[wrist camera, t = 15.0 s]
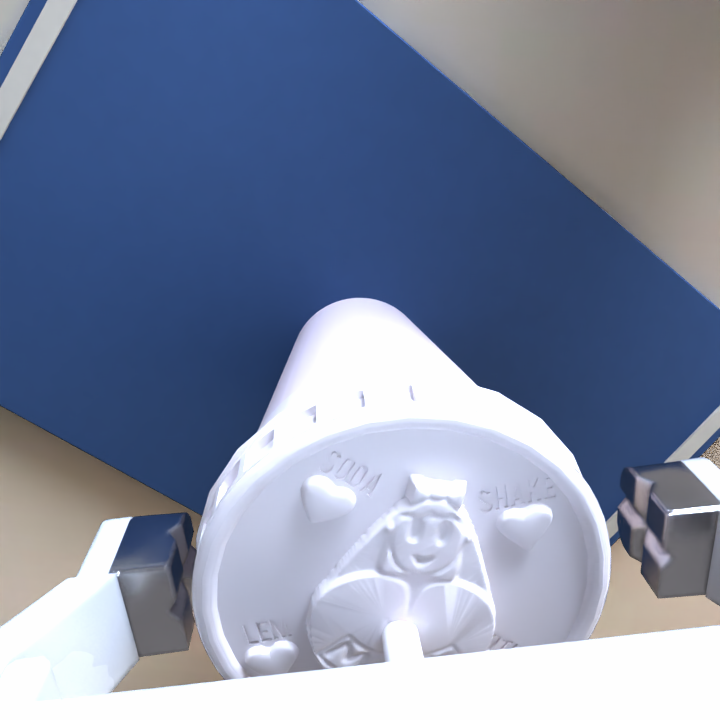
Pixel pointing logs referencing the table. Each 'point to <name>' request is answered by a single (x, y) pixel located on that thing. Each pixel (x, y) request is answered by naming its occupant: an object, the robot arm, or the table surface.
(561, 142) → the table surface
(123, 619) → the robot arm
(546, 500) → the smoothie
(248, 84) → the cloth
